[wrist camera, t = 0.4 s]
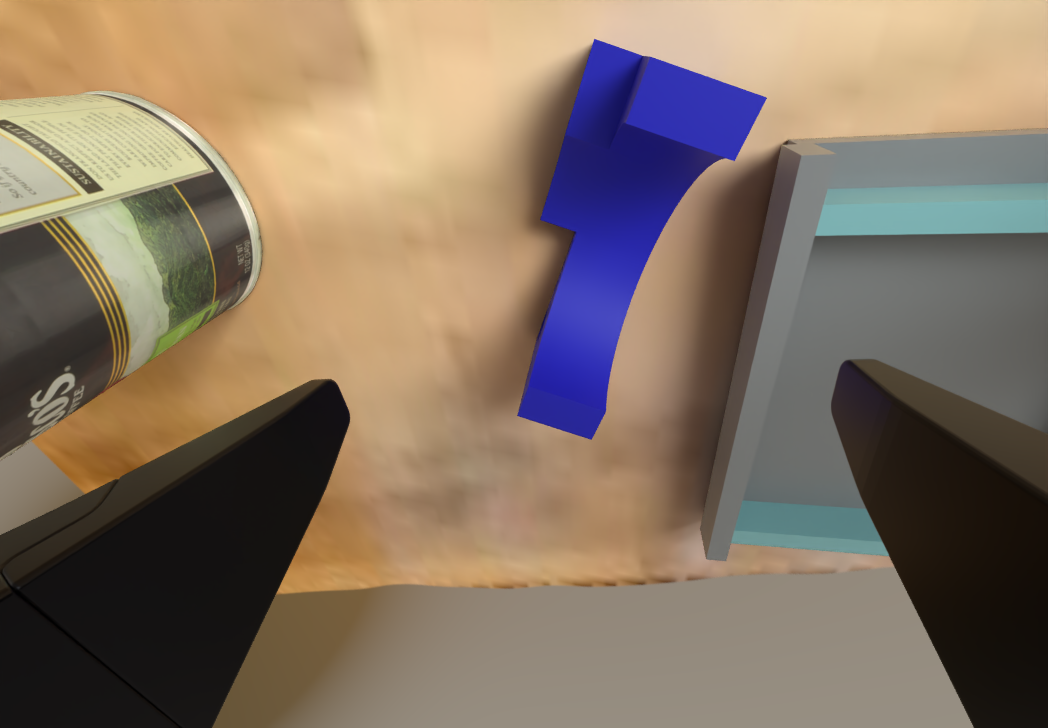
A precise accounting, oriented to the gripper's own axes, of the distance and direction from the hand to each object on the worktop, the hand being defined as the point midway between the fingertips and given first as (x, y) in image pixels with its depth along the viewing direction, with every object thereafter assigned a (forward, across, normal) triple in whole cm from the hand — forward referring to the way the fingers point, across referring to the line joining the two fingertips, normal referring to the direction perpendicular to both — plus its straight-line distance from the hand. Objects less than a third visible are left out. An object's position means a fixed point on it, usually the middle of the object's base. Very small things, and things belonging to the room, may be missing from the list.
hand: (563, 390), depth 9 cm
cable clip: (+13, 0, +1) cm, 13 cm away
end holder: (+13, -13, +9) cm, 21 cm away
